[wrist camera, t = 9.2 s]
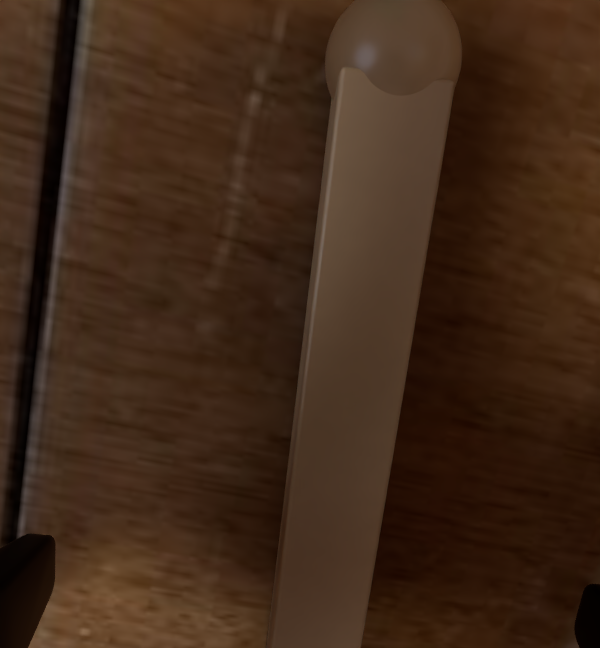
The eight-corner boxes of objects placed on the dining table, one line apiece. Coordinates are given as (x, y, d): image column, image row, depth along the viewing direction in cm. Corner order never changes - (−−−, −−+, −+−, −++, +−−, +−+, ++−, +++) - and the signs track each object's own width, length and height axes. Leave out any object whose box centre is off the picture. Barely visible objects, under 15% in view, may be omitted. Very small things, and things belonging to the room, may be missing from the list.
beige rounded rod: (450, 21, 8) (496, -33, 7) (314, 859, 13) (318, 979, 11) (329, 6, 8) (340, -54, 6) (233, 853, 13) (221, 973, 11)
